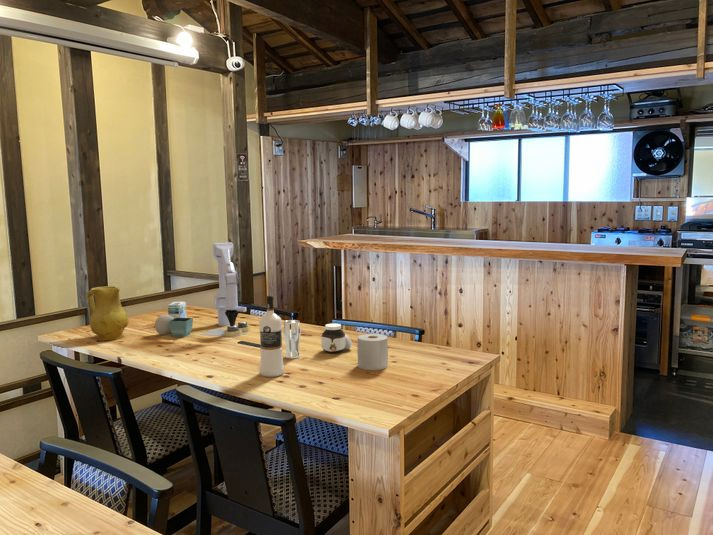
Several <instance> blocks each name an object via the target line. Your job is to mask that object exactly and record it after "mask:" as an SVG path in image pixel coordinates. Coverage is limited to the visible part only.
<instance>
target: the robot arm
mask: <svg viewBox="0 0 713 535" xmlns="http://www.w3.org/2000/svg"><path fill="white" fill-rule="evenodd" d="M233 254H234V243H232V241H230V242H213V244H212V257H213V259H214V260H215V259H216V260H217V264H218V265H217V267H218V287H219V290H218V292H216V293H215V294H214V295H213V296H214V300H213V303H214V308H215V310H217V325H218V326H221V327H227V326H234V325H236V321H237V317H238V315H239V313H240V312H243V313H245V312H247V307H246V306H239V305H238V302H239V300H238V284H239V276H238V272H237V271H236V269H235V265H234V263H233V262H231V258H232V257H233Z"/></svg>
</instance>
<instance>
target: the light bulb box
mask: <svg viewBox="0 0 713 535" xmlns="http://www.w3.org/2000/svg"><path fill="white" fill-rule="evenodd" d="M167 311H168V312H167V313H168V314H167V315H170V316H172V317H173V318H188V317H187V302H186V301H172V302H170V303H169V304H167Z"/></svg>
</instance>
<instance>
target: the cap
mask: <svg viewBox="0 0 713 535" xmlns="http://www.w3.org/2000/svg"><path fill="white" fill-rule="evenodd" d="M226 329H227V332H235V331H238V325H236V324H235V325H234V326H230V325H228V326H226Z"/></svg>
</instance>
